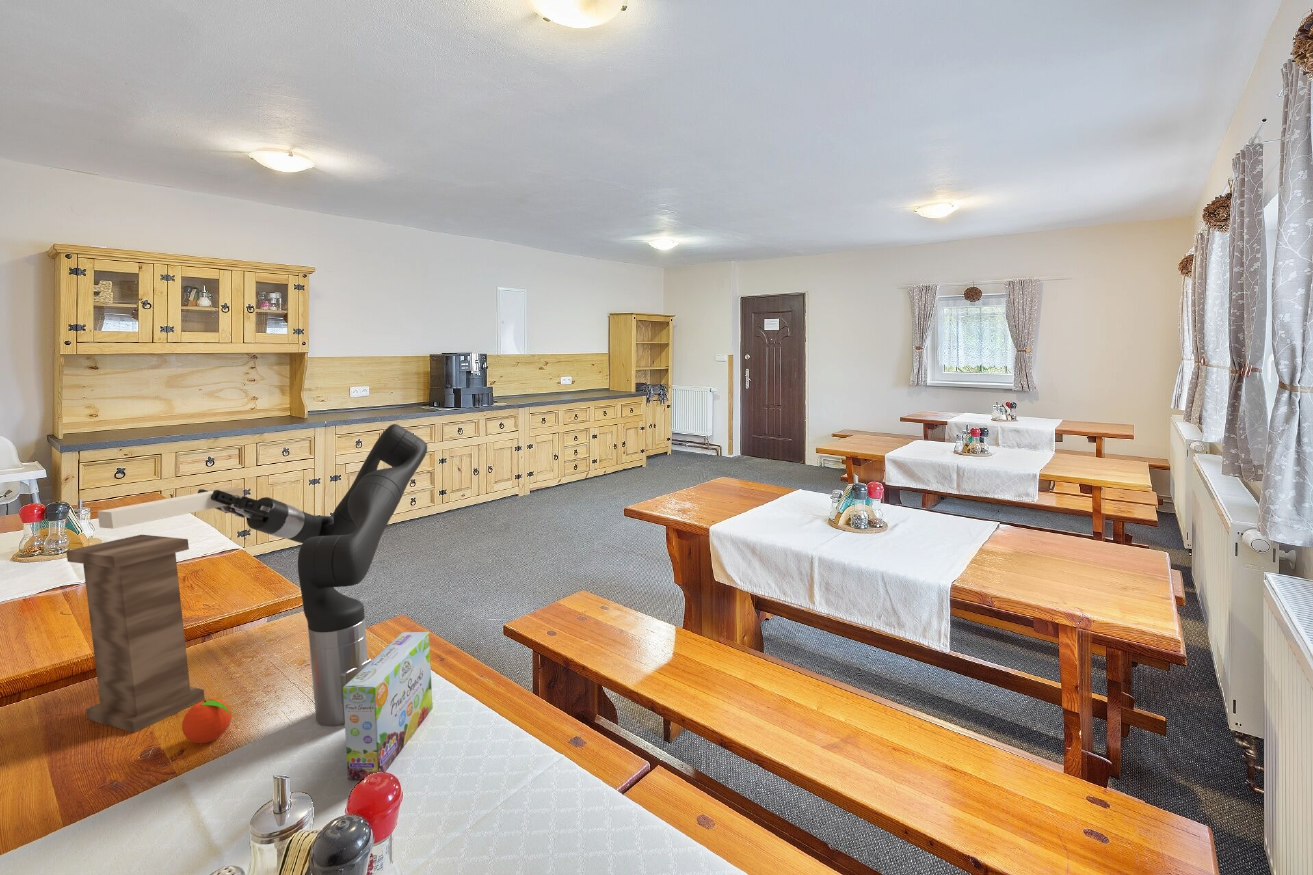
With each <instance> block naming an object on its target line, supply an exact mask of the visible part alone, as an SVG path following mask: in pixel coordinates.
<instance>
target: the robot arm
mask: <svg viewBox="0 0 1313 875" xmlns="http://www.w3.org/2000/svg"><path fill="white" fill-rule="evenodd" d="M427 452H428V443H426V441H424V440H423V439H422V438H421V437H419V436H417V435H416V434H415V433H413V432H411V431H409V430H407V429H406V428H405V427H403V426H401V425H399V424H398V423H393V424H390V425H389V426H387V427H386V429H385V430H384V431H383V432H382V433H381V434H380V435H379V437H378V439H377V440H376V442H375V443H374V445H373V447H372V448H371V450H370V452H369V453H368V455H367V457H366V459H365V460H364V462H363V464H362V465H361V467H360V468H359V470H358V473H357V475H356V477H355V479H354V481H353V482H352V485H351V486H350V488H349V489H348V490H347V492H346V494H344V496H343V497H342V499H341V500H340V502H338V504H337V505H336V507H335V509H334V511H333V513H332V514H333V516H332V515H331V516H329V515H316V514H315V515H313V514H311V513H307V512H306V511H303V510H300V509H298V508H296V507H295V506H293V505H290V504H289V503H288V504H287V503H285V502H282V501H280V500H277V499H274V498H271V497H268V496H266V497H264V496H263V497H260V498H259V499H254V498H250V497H249V496H246V495H244V496H242V497H240V496H238V495H234V496H233V495H231V494H228V493H225V492H223V491H220V490H216V489H213V490H214V492H213V494H212V496H211V500H213V501H216V502H219V503H222V504H225V505H229V504H230V505H229V506H222V507H217V508H214V509H216V510H218V511H221V512H223V513H224V514H231V515H234V516H235V517H238V518H242V519H243V518H245V519H246V524H247V526H248V527H249V528H250V529H252V530H255V531H256V532H257V531H258V532H261V533H264V534H268V535H270V536H273V537H275V538H276V537H277V538H283V539H286V540H290V541H293V542H295V543H299V544H301V546H300V547H299V550H298V556H297V572H298V573H297V574H298V581H299V585H300V591H301V592H300V594H301V599H302V607H303V614H304V616H305V619H306V622H307V630H308V642H309V654H310V667H311V677H312V678H311V679H312V691H313V700H314V710H315V721H316V720H317V721H316V722H317V723H318V724H319V723H320V724H319V725H322V726H330V727H331V726H340V725H345V716H344V699H343V687H344V686H345V685H346V684H347V683H348V682H350V681H351V680H352V679H353V678H354V677H355V676H356V675H357V674H358V673H359V672H360V671H361V670H363V669H364V668H365V667H366V666H367V665H368V664H369V663H370V662H371V661H372V660H373V659H371V658H369V657H368V646H367V645H368V644H367V643H368V642H367V631H366V629H367V628H366V620H365V618H366V616H365V607H364V604H363V602H361V601H360V600H359V599H356V598H353V597H349V596H347V595H344V594H343V593H341V592H339V591H338V590H337V589H336V588H342V587H345V588H346V587H351V586H356V585H358V584H360V583H361V582H362V581H363V580H364V579H365V577H366V576H367V573H368V572H369V570H370V567H371V566H372V563H373V560H374V557H375V555H376V552H377V548H378V546H379V544H380V540H381V538H382V535H383V534H384V531H385V530H386V527H387V525H388V524H389V521H390V520H391V518H392V516H393V514H394V513H395V512H396V509H397V507H398V506H399V504H400V502H401V500H402V497H403V496H404V492H405V491H406V489H407V486H408V485H409V483H410V480H411V479H412V478H413V476H414V475H415V473H416V472H417V470H418V468H419V467H420V466H421V464H422V462H423V460H424V459H425V456H426V454H427ZM381 461H382V462H384V463H385V464H387V466H390V467H386V468H381V469H378V467H379V465H380V462H381ZM208 491H209V490H206V489H205V488H201V489H198V491H197V493H203V492H208Z"/></svg>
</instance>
